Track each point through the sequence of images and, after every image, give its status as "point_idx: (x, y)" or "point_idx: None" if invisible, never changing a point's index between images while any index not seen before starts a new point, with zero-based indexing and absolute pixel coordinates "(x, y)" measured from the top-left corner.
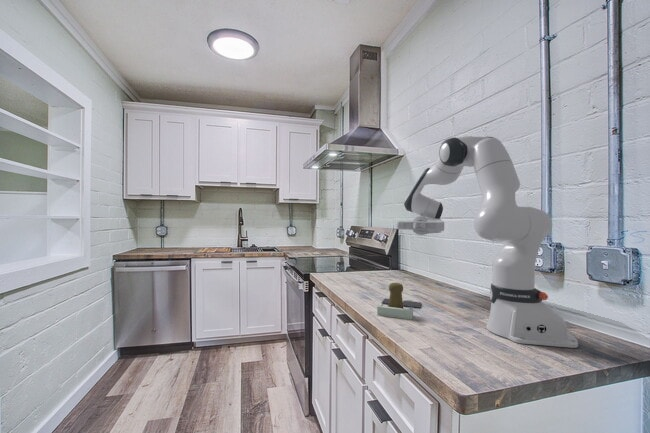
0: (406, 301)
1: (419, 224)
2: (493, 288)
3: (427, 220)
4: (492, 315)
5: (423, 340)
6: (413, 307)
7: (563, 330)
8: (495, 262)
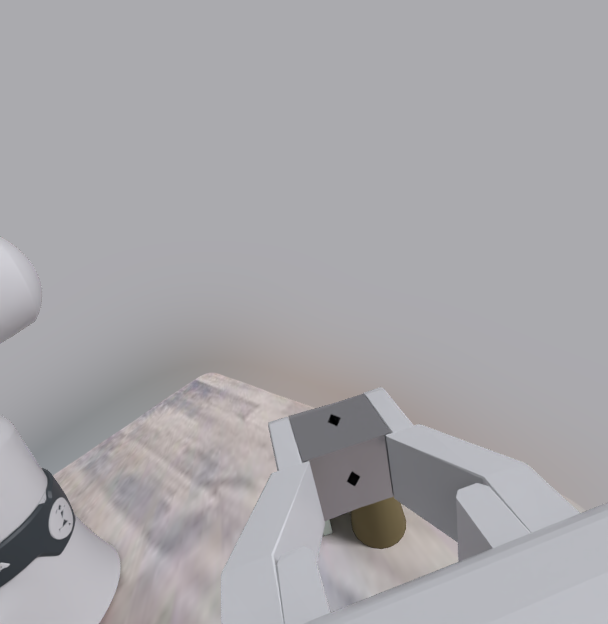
0: None
1: (312, 410)
2: (56, 485)
3: None
4: (93, 540)
5: (259, 428)
6: None
7: None
8: (7, 426)
